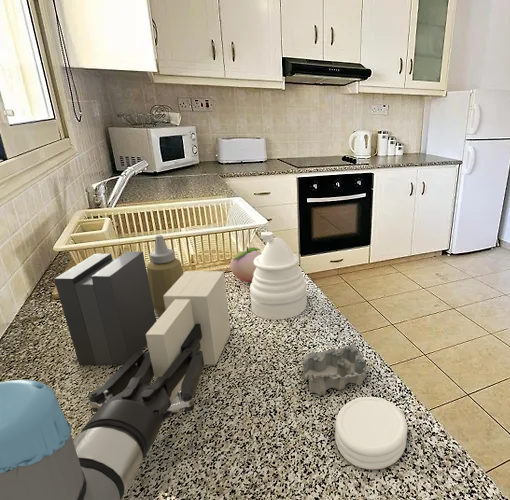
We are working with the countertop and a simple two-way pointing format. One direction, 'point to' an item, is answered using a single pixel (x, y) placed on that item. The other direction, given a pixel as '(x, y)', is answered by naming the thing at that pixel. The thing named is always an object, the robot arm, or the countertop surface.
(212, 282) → the white books
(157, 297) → the squeeze bottle
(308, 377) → the egg carton
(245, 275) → the decorative fruit
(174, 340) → the thin white book
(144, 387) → the robot arm
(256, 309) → the honey pot
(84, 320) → the grey books
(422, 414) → the countertop surface
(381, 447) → the white jar lid
